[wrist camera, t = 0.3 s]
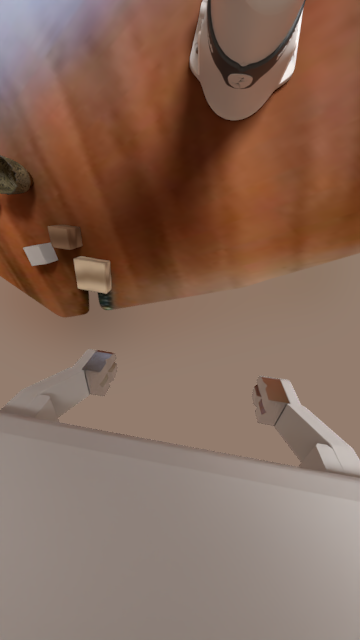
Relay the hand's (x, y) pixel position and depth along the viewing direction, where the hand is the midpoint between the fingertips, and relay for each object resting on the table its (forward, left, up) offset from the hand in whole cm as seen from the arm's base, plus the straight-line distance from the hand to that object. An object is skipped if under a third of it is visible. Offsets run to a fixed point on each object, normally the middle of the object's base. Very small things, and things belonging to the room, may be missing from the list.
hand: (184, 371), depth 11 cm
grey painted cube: (+9, -46, -47) cm, 66 cm away
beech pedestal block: (+13, -31, -48) cm, 58 cm away
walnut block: (+3, -37, -47) cm, 60 cm away
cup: (-9, -47, -47) cm, 67 cm away
